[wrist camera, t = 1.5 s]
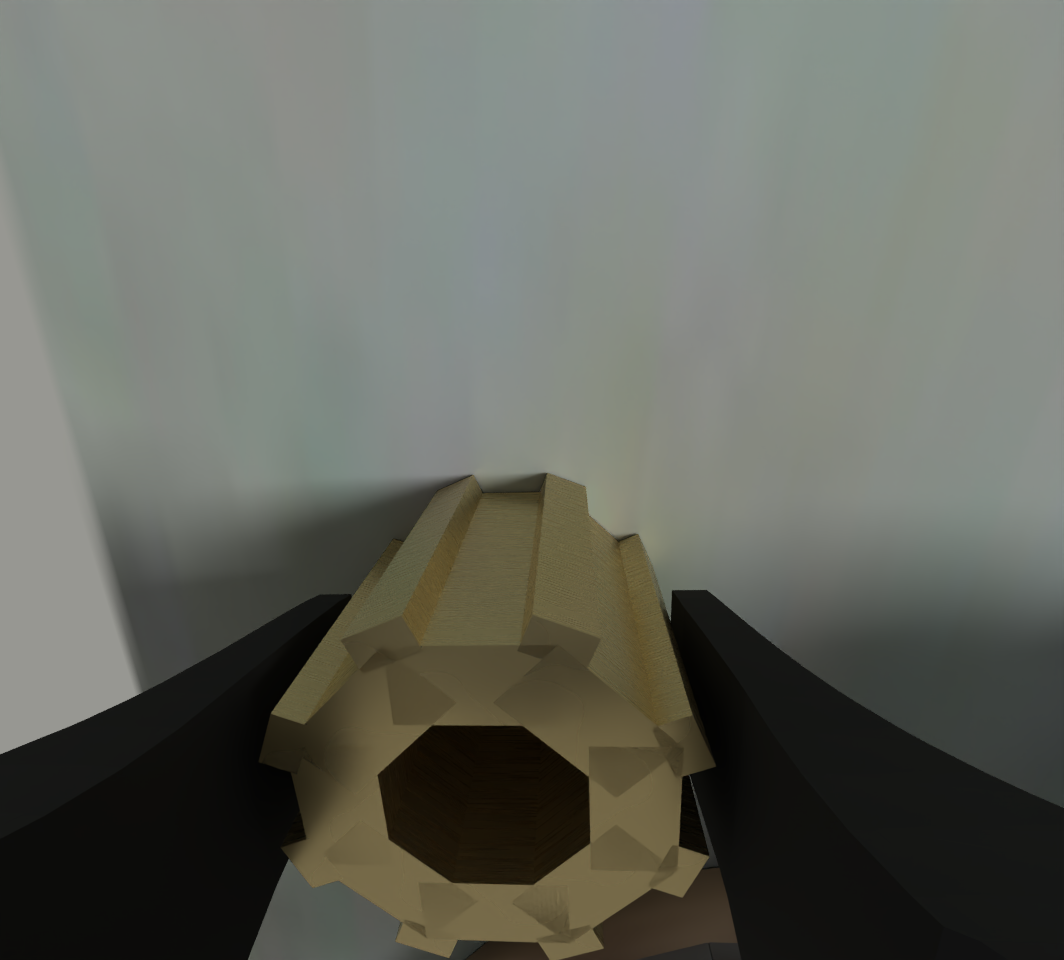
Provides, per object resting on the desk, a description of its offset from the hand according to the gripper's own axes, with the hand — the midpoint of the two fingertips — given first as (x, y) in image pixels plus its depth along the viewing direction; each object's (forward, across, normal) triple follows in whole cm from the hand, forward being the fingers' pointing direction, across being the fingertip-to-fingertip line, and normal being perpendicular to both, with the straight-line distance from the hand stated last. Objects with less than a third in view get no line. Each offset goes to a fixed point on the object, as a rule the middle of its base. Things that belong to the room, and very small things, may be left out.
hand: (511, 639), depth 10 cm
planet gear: (+1, 0, 0) cm, 1 cm away
